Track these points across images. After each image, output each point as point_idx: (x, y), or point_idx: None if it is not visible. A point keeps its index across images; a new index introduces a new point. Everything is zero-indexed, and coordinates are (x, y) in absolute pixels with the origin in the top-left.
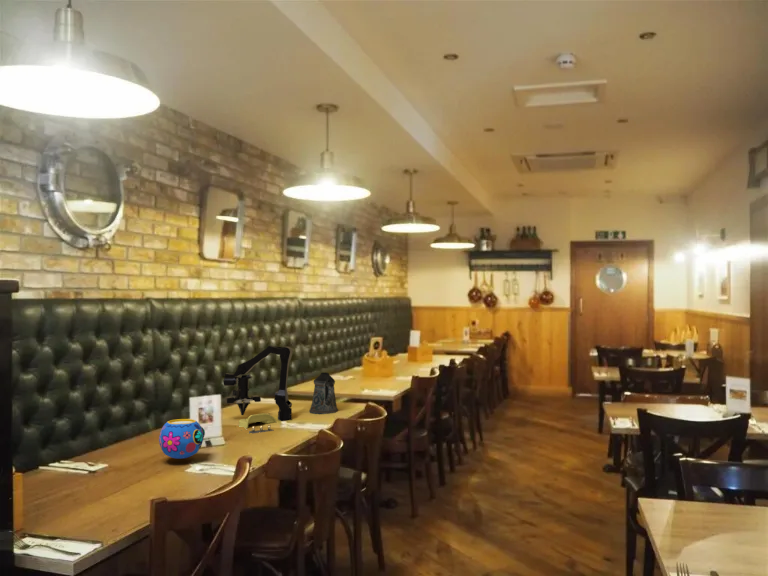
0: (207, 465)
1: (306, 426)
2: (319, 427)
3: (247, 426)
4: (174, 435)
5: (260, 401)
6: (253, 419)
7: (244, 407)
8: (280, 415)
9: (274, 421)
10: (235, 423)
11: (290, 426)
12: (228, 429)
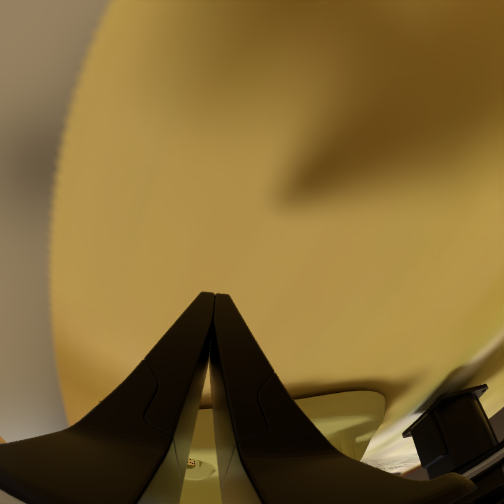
0: None
1: (404, 456)
2: (412, 462)
3: None
4: None
5: (473, 500)
6: (196, 494)
7: (219, 471)
8: (420, 450)
9: (358, 447)
10: (112, 325)
11: (368, 457)
12: (68, 419)
